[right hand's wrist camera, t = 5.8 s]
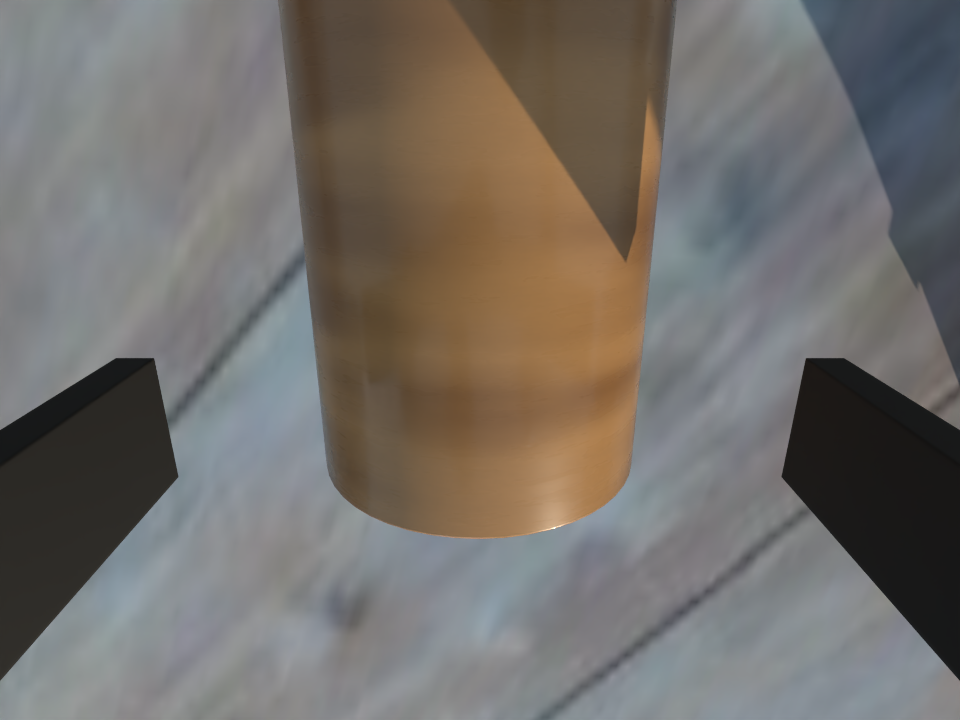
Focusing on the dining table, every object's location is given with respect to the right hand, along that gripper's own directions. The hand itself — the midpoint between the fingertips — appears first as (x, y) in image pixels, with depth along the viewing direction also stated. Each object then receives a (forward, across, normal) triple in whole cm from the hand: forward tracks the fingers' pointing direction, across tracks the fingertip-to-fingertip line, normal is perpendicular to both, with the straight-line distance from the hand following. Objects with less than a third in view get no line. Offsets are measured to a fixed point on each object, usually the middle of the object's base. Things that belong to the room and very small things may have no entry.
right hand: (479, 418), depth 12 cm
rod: (+9, 0, -10) cm, 14 cm away
